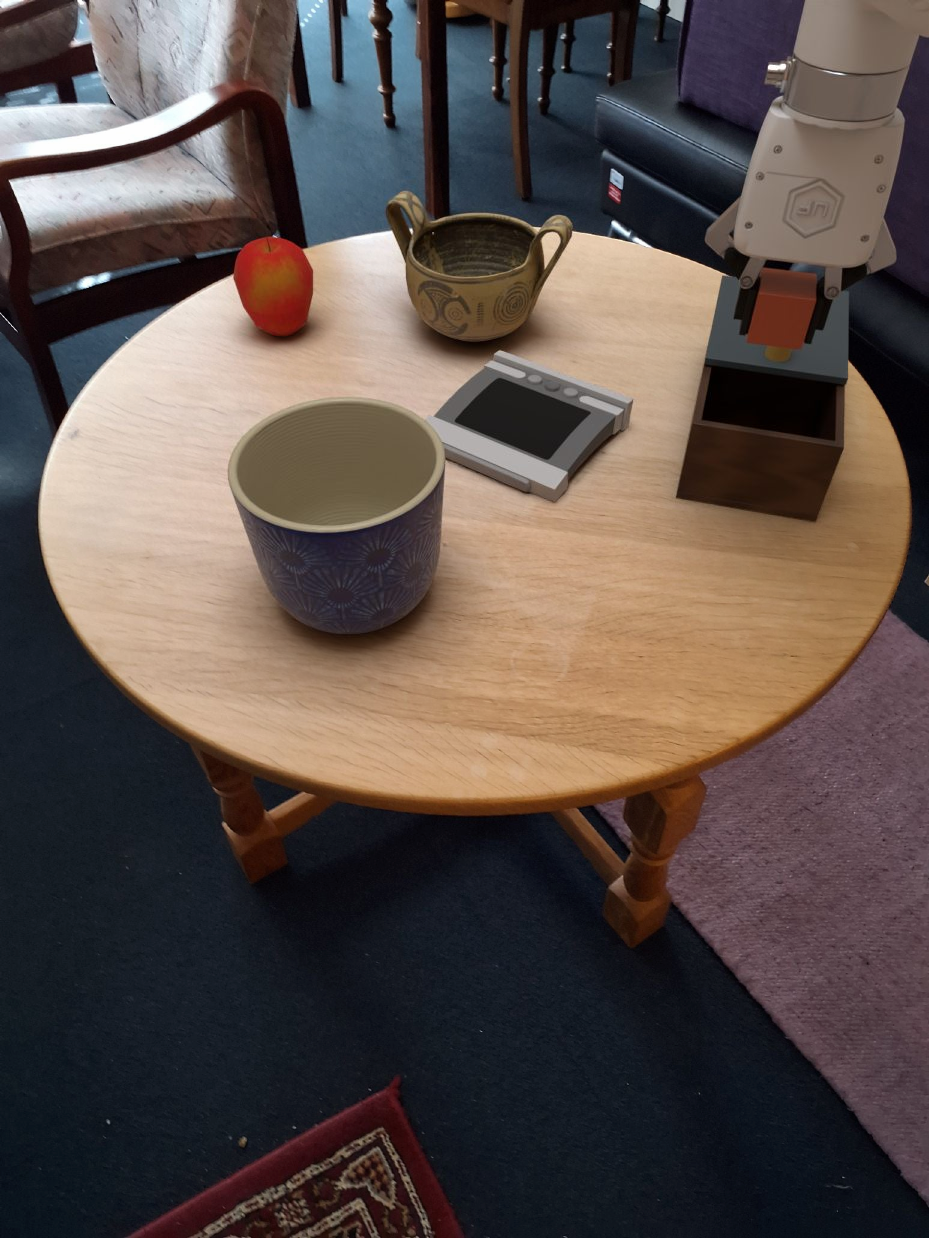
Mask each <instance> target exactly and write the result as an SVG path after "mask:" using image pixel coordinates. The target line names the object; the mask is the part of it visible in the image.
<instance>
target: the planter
mask: <svg viewBox="0 0 929 1238" xmlns="http://www.w3.org/2000/svg"><path fill="white" fill-rule="evenodd" d="M445 475H446V458H445V451H444V447H443V444H442V441H441V439H440V437H439V435H438V434H437V432H436V431H435V430H434V429H433V427H432V426H431V425H430V424H429V423H428V422H426V421H425V419H424V418H423V417H421V416H420V415H418V414H417V413H416V412H413V411H412V410H410V409H408V408H406V407H405V406H404V407H403V406H401V405H398V404H395V403H392V402H389V401H385V400H382V399H376V398H370V397H363V396H362V397H359V396H336V397H325V398H319V399H313V400H308V401H304V402H300V403H297V404H294V405H290V406H288V407H285V408H283V409H280V410H277V411H276V412H274V413H272V414H270V415H268V416H266V417H265V418H262V420H261V421H259V422H258V423H256V424H254V425H253V426H252V427H251V428H250V429H249V430H247V432H246V433H245V434H244V435H242V437H241V438H240V439H239V440H238V442H237V443H236V445H235V447H234V448H233V450H232V452H231V454H230V457H229V460H228V465H227V481H228V485H229V489H230V491H231V494H232V497H233V500H234V503H235V505H236V508H237V511H238V514H239V516H240V519H241V522H242V525H243V528H244V530H245V534H246V536H247V539H248V542H249V544H250V545H249V546H250V547H251V550H252V553H253V557H254V559H255V561H256V564H257V567H258V570H259V572H260V575H261V577H262V579H263V582H264V584H265V586H266V587H267V589H268V591H269V593H270V594H271V596H272V597H273V599H275V601H276V602H277V603H278V605H279V606H280V607H281V608H282V609H283V610H284V611H285V612H286V613H287V614H288V615H290V616H291V617H293V618H294V619H296V620H297V621H298V622H300V623H302V624H303V625H305V626H307V627H310V628H312V629H315V630H318V631H321V632H326V633H330V634H335V635H359V634H367V633H370V632H374V631H377V630H381V629H383V628H386V627H388V626H391V625H393V624H394V623H396V622H398V621H399V620H401V619H403V618H404V617H406V616H407V615H408V614H409V613H411V612H412V611H413V610H414V609H415V608H416V607H417V606H418V605H419V604H420V602H421V601H422V600H423V599H424V598H425V595H426V594H427V592H428V591H429V589H430V586H431V585H432V583H433V580H434V578H435V575H436V573H437V569H438V564H439V560H440V554H441V544H442V543H441V542H442V541H441V540H442V525H443V510H444V509H443V508H444V494H445V491H444V490H445V477H446V476H445Z"/></svg>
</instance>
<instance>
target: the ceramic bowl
mask: <svg viewBox="0 0 929 1238" xmlns="http://www.w3.org/2000/svg"><path fill="white" fill-rule="evenodd" d="M402 210H403V211H402ZM403 212H404V213H403ZM404 214H405V215H406V217H407V219H408V221H409V224H410V226H411V230H412V232H411V230H410V228H409V225H408V223H407V220H406V219H405V217H404ZM385 217H386V220H387V223H388V225H389V227H390V229H391V231H392V234H393V236H394V239H395V240H396V243H397V245H398V248H399V250H400V253H401V256H402V258H403V261H404V263H405V267H404V268H405V283H406V288H407V293H408V296H409V298H410V301H411V304H412V306H413V308H414V309H415V312H416V313H417V314H418V316H419V318H420V319H421V320H422V321H423V322H424V323H425V324H426V325H428V326H429V327H430V328H432V329H433V330H434V331H436V332H438V333H439V334H441V335H443V336H446V337H448V338H450V339H454V340H459V341H463V342H472V343H473V342H474V343H476V342H477V343H479V342H487V341H491V340H495V339H499V338H501V337H505V336H507V335H509V334H511V333H512V332H514V331H516V330H517V329H518V328H519V327H520V326H522V325H523V324H524V323H525V322H526V321H527V320H528V318H529V317H530V316H531V314H532V312H533V311H534V309H535V306H536V304H537V302H538V299H539V297H540V294H541V292H542V290H543V287H544V285H545V283H546V282H547V280H548V278H549V277H550V275H551V273H552V271H553V270H554V268H555V266H556V265H557V263H558V262H559V259H560V258H561V257H562V254H563V253H564V251H565V250H566V248H567V246H568V244H569V243H570V241H571V239H572V237H573V229H574V226H573V223H572V222H571V221H572V220H570V218H569V217H567V216H566V215H561V214H554V215H553V216H550V218H548V219H547V220H546V221H545V222H544V223H543V224H542V226H541V227H540V228H539V230H538V231H537V230H536V228H535V227H533V226H532V225H531V224H530V223H528V222H526V221H524V220H522V219H519V218H518V217H517V218H516V217H512V216H509V215H504V214H498V213H491V212H468V213H459V214H454V215H448V216H444V217H441V218H438V219H436V220H430V219H429V218H428V216H427V212H426V209H425V207H424V206H423V203H422V202H421V200H420V199H419V198H418V197H417V196H416V195H415V194H414V193H413V192H411V191H409V190H402V191H401V192H398V194H396V195H395V196H393V197H392V198H391V199H390V200H389V201H388V202H387V204H386V206H385ZM548 233H556V234H557V235H558V236H559V239H560V242H559V244H558V247H557V248H556V250H555V252H553V253H554V254H553V255H552V257H551V258H550V260H549V261H548V264H547V265H546V263H545V253H544V247H543V237H545V235H546V234H548ZM545 265H546V266H545Z"/></svg>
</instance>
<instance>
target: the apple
mask: <svg viewBox="0 0 929 1238" xmlns="http://www.w3.org/2000/svg"><path fill="white" fill-rule="evenodd" d="M232 279H233V281H234V284H235V288H236V290H237V294H238V296H239V299H240V302H241V305H242V308H243V309H244V310H245V312H246V313H247V315H248V316H249V318H250V319H251V320H252V322H253V324H254V325H255V327H257V328H258V329H261V330H263V331H264V332H266V333H268V334H270V335H272V336H276V337H289V336H291V335H293V334H295V333H296V332H297V331H298V330H300V329H301V328H302V327H303V326H304V325H305V324H307V322H308V318H309V313H310V309H311V304H312V300H313V295H314V269H313V267H312V265H311V263H310V261H309V259H308V257H307V255H306V253H305V252H304V250H303V248H301V247H300V246H298V245H297V244H295V243H294V242H292V241H290V240H288V239H285V238H281V237H279V236H278V237H276V236H265V237H260V238H257V239H253V240H251V241H249V242H248V243H246V244H245V245H244V246H243V247H242V249H241V250H240V251H239V252H238V254H237V256H236V259H235V264H234V270H233V277H232Z"/></svg>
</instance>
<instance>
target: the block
mask: <svg viewBox="0 0 929 1238" xmlns="http://www.w3.org/2000/svg"><path fill="white" fill-rule="evenodd" d="M759 277H760V280H759V289H758V295H757V299H756V303H755V307H754V311H753V315H752V319H751V323H750V327H749V331H748V334H747V340H746V342H747V343H752V344H759V345H767V346H774V347H782V348H789V349H797V350H801V349H802V346H803V343H804V339H805V336H806V333H807V330H808V326H809V323H810V320H811V317H812V313H813V310H814V307H815V303H816V295H817V284H818V274H817V273H812V272H803V271H795V270H786V269H779V268H771V267H770V268H769V267H763V268H762V270H761V272H760V273H759Z"/></svg>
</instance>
